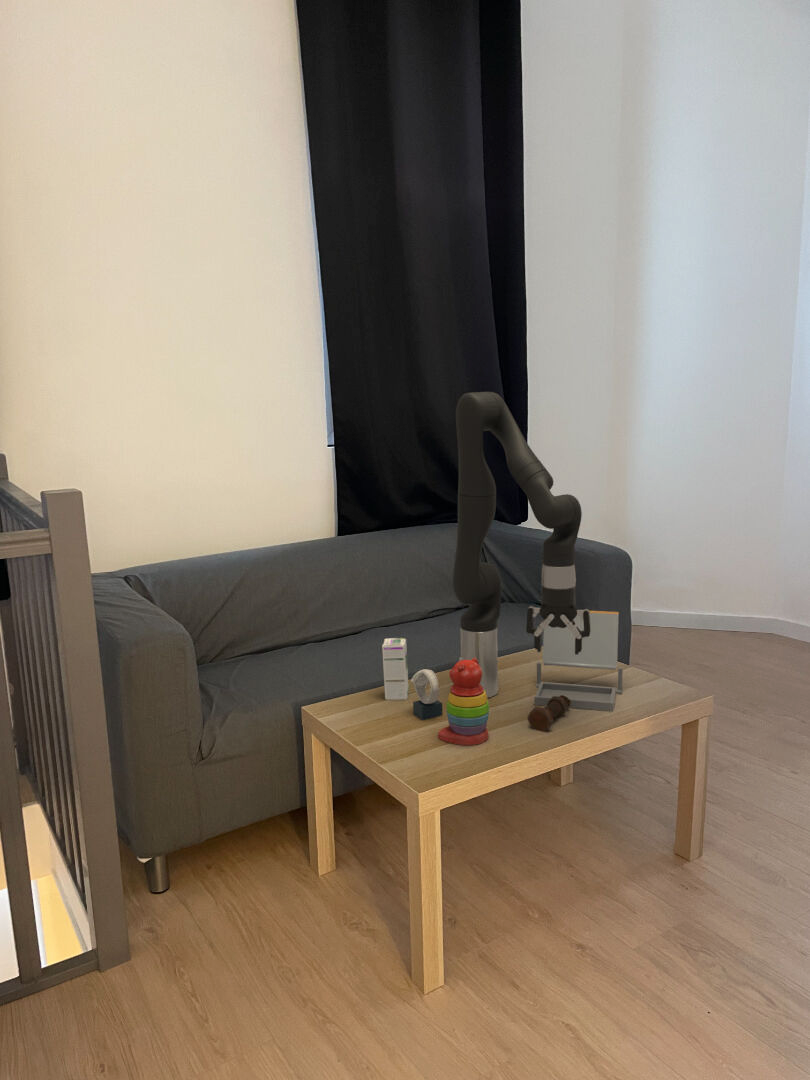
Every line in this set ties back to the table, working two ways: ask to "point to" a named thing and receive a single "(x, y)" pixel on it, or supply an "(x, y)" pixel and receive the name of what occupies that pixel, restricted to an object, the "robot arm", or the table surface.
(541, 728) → the bolt
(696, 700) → the table surface
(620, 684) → the housing
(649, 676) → the table surface
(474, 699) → the stacking bear
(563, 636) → the lid
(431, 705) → the watch
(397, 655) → the syrup box
